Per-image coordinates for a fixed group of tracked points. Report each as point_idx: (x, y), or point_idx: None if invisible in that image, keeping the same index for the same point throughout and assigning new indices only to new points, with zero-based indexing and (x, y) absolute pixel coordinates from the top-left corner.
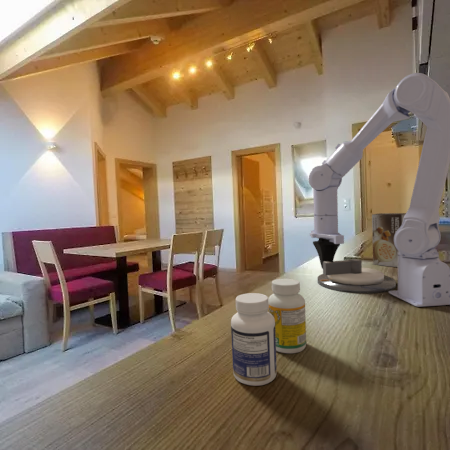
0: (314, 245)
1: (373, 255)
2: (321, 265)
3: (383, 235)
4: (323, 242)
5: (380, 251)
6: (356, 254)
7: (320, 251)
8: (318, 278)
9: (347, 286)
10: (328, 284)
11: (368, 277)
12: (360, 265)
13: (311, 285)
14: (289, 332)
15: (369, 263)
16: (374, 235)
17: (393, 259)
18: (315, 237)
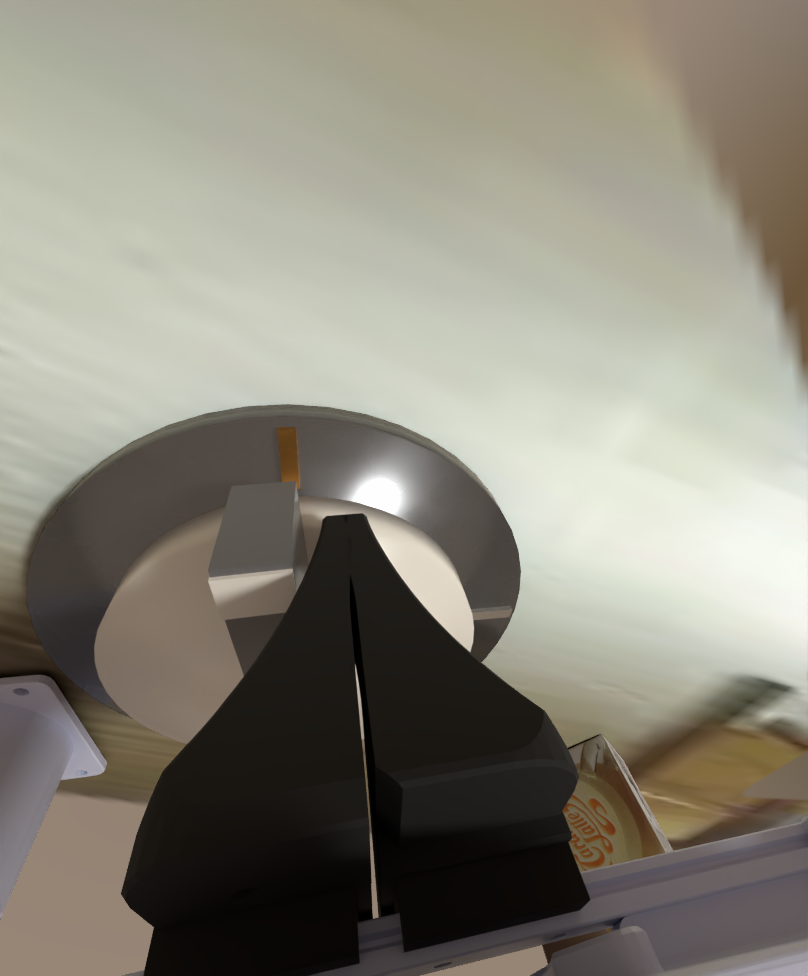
0: (492, 695)
1: (622, 780)
2: (357, 528)
3: None
4: (132, 908)
5: (602, 821)
6: (785, 727)
7: (291, 661)
8: (372, 436)
9: (86, 543)
10: (152, 444)
11: (131, 690)
12: None
13: (285, 331)
14: None
15: (624, 729)
16: None
17: None
18: (781, 834)
